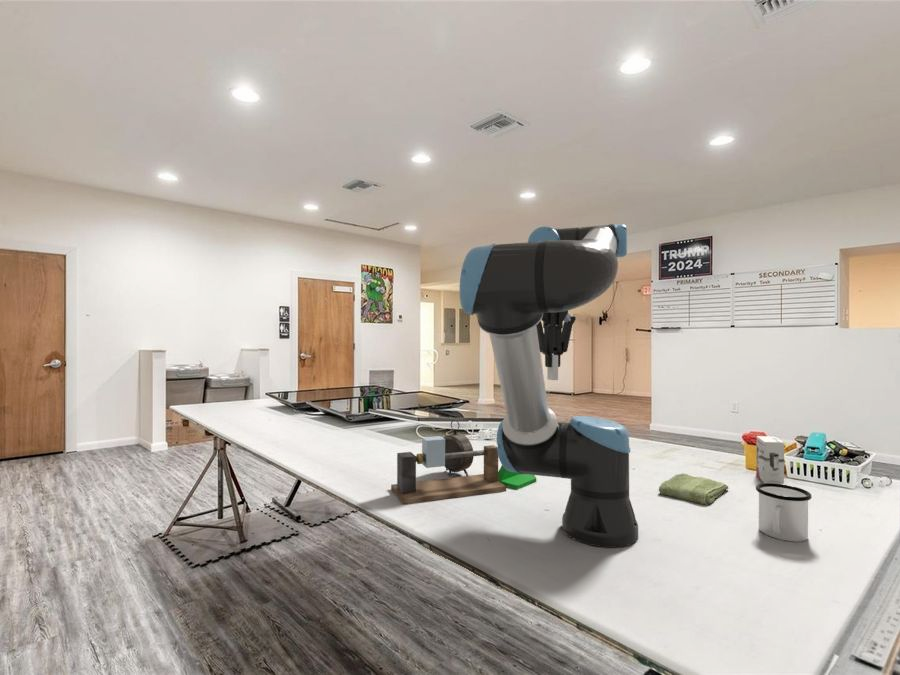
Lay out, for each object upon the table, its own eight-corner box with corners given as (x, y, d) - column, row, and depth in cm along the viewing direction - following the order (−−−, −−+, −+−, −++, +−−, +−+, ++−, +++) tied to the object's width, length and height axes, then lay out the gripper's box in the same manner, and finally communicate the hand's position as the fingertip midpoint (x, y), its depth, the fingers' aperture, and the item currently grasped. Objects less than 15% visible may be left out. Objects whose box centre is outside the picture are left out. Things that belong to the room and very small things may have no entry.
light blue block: (439, 462, 126) (439, 436, 126) (445, 466, 122) (445, 439, 122) (422, 464, 124) (422, 437, 124) (426, 468, 120) (426, 440, 120)
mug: (760, 520, 104) (760, 480, 104) (814, 533, 97) (814, 489, 97) (747, 537, 95) (748, 493, 95) (805, 552, 89) (806, 504, 89)
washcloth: (730, 491, 125) (730, 479, 125) (709, 508, 113) (709, 495, 113) (678, 480, 134) (678, 469, 134) (654, 495, 122) (654, 482, 122)
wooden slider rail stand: (486, 477, 135) (486, 441, 135) (506, 490, 124) (506, 451, 124) (391, 489, 125) (391, 450, 125) (403, 504, 114) (403, 461, 114)
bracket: (517, 490, 125) (517, 465, 125) (494, 484, 130) (494, 459, 130) (541, 480, 134) (542, 456, 134) (519, 475, 139) (519, 452, 139)
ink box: (755, 474, 139) (755, 435, 139) (774, 476, 137) (774, 436, 137) (764, 483, 130) (764, 441, 130) (784, 485, 129) (785, 442, 129)
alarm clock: (474, 476, 136) (474, 420, 136) (461, 480, 132) (461, 423, 132) (448, 469, 144) (448, 416, 144) (435, 472, 140) (435, 418, 140)
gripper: (565, 291, 129) (565, 377, 129) (523, 290, 124) (523, 379, 124) (582, 289, 122) (582, 380, 122) (539, 287, 117) (538, 381, 117)
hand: (552, 379), depth 123 cm, fingers closed
